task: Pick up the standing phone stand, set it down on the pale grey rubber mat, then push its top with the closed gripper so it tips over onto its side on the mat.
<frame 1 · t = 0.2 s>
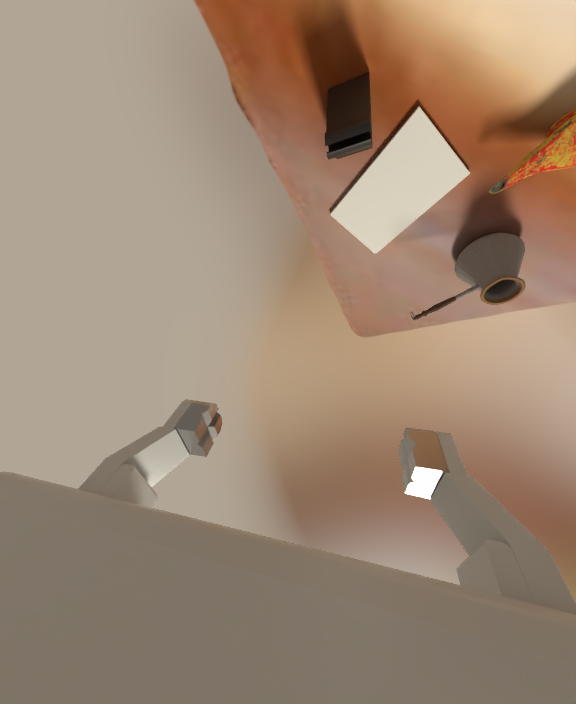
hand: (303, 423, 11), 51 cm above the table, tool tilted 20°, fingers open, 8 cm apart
coffee pot: (456, 260, 55), on the table
magic lamp: (551, 138, 37), on the table
phone stand: (351, 119, 40), on the table
mat: (392, 194, 47), on the table
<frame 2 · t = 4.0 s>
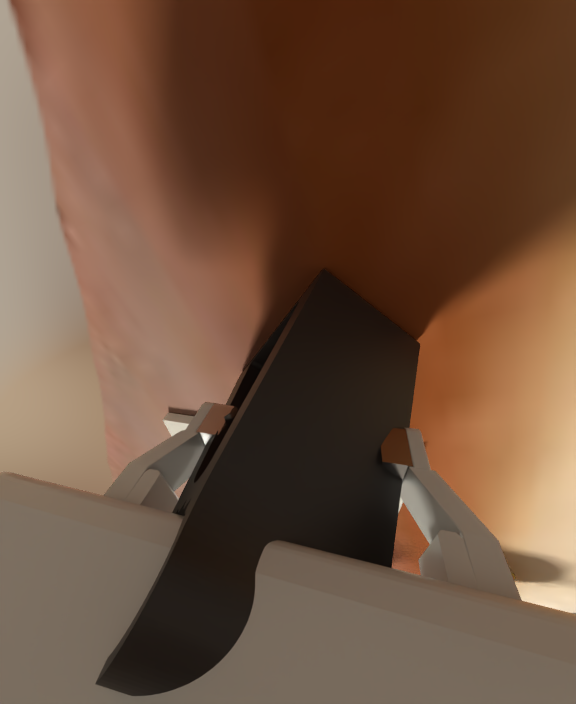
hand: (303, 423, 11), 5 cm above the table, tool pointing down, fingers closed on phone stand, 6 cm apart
phone stand: (316, 357, 14), on the table, touching gripper
mat: (285, 475, 23), on the table
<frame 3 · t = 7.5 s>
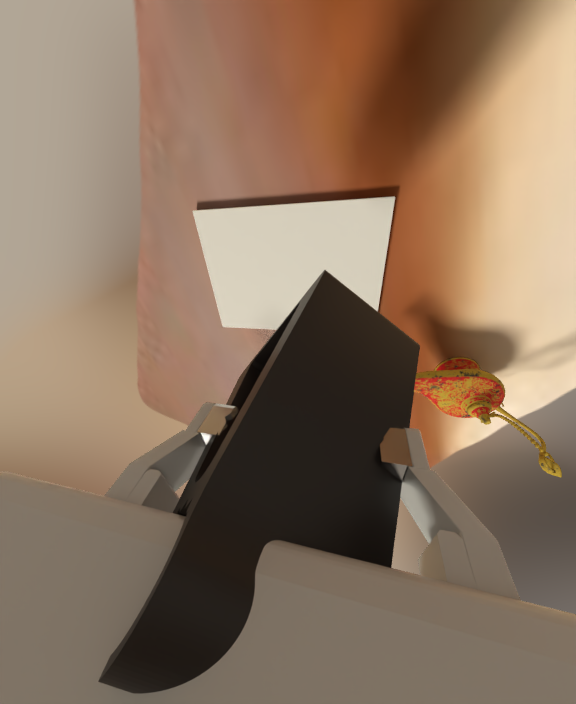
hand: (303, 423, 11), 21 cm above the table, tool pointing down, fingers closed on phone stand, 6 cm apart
magic lamp: (442, 367, 31), on the table
phone stand: (317, 358, 14), point 16 cm above the table, touching gripper
mat: (290, 274, 28), on the table
when the fingers open (7 cm above the table, at t = 10.5 s): phone stand drops 1 cm, resting on mat.
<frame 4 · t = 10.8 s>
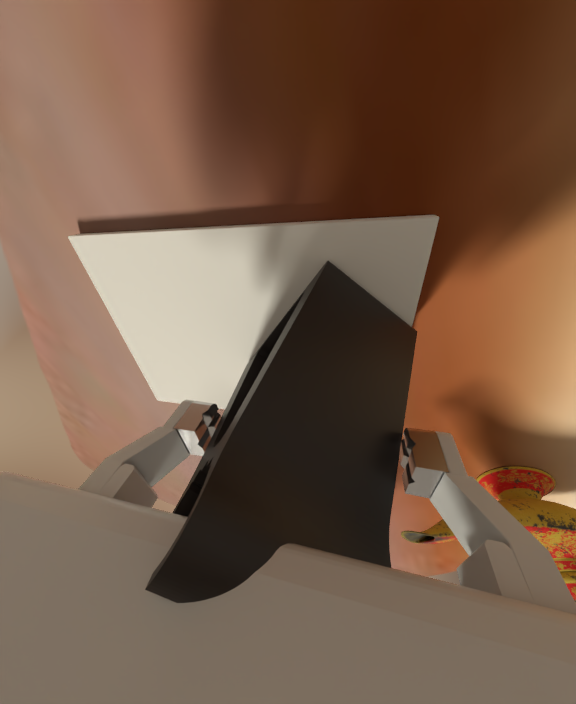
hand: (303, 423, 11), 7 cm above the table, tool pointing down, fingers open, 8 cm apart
magic lamp: (492, 474, 20), on the table
phone stand: (320, 346, 15), point 1 cm above the table, touching mat
mat: (248, 337, 17), on the table
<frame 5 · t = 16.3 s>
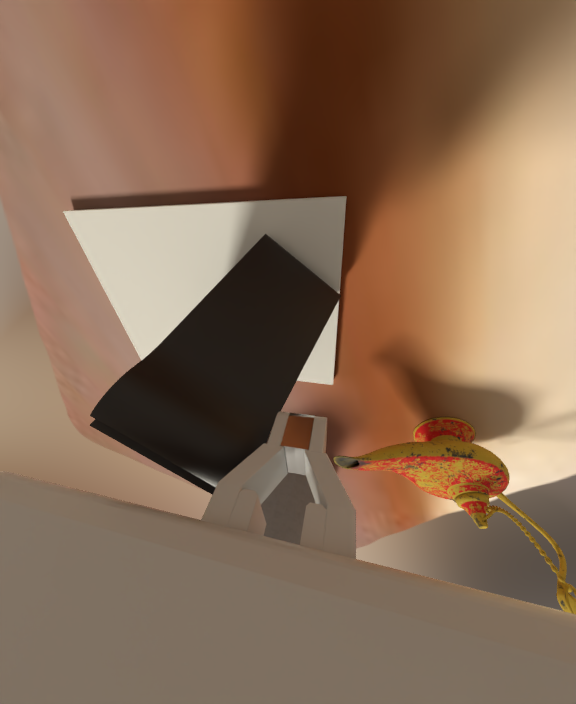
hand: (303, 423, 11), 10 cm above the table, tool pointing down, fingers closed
coffee pot: (254, 450, 33), on the table
magic lamp: (426, 426, 23), on the table
phone stand: (271, 309, 18), point 1 cm above the table, touching gripper, mat
mat: (215, 302, 20), on the table
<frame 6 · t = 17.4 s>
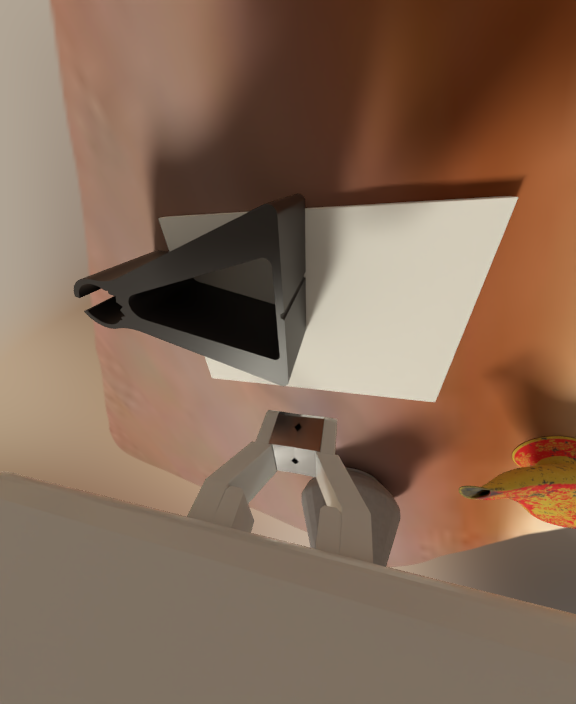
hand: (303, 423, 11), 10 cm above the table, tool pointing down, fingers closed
coffee pot: (314, 467, 31), on the table
magic lamp: (529, 445, 21), on the table
phone stand: (300, 292, 13), point 4 cm above the table, touching mat
mat: (312, 314, 18), on the table
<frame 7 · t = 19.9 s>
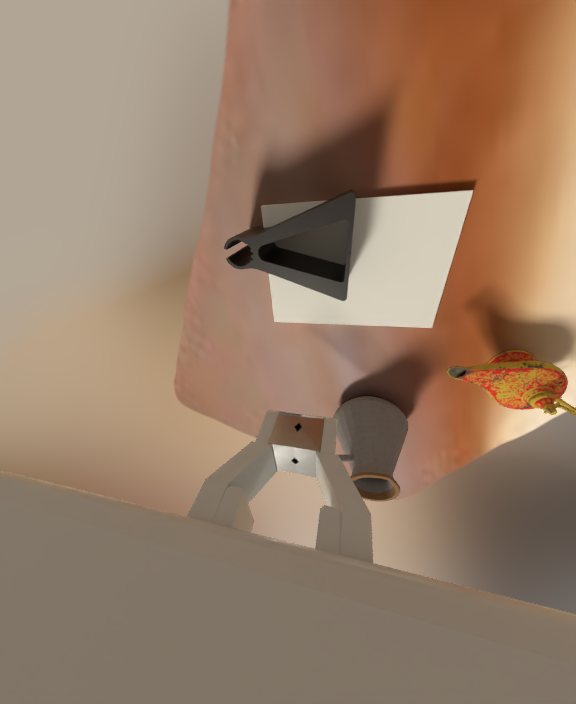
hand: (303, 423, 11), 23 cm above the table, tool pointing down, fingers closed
coffee pot: (341, 399, 41), on the table
magic lamp: (496, 360, 31), on the table
phone stand: (353, 245, 23), point 4 cm above the table, touching mat
mat: (351, 268, 28), on the table
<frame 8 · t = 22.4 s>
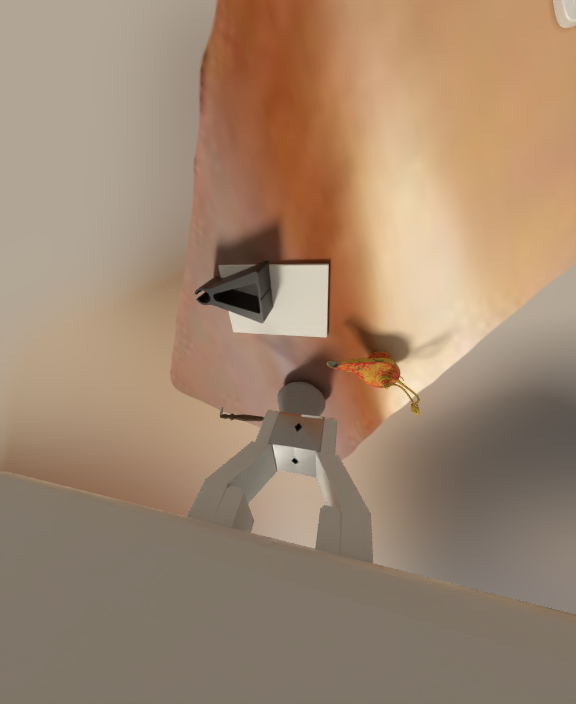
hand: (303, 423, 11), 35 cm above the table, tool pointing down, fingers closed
coffee pot: (285, 384, 59), on the table
magic lamp: (371, 357, 49), on the table
phone stand: (267, 292, 42), point 4 cm above the table, touching mat
mat: (275, 301, 47), on the table
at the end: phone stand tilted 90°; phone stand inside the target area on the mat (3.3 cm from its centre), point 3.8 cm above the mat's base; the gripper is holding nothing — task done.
